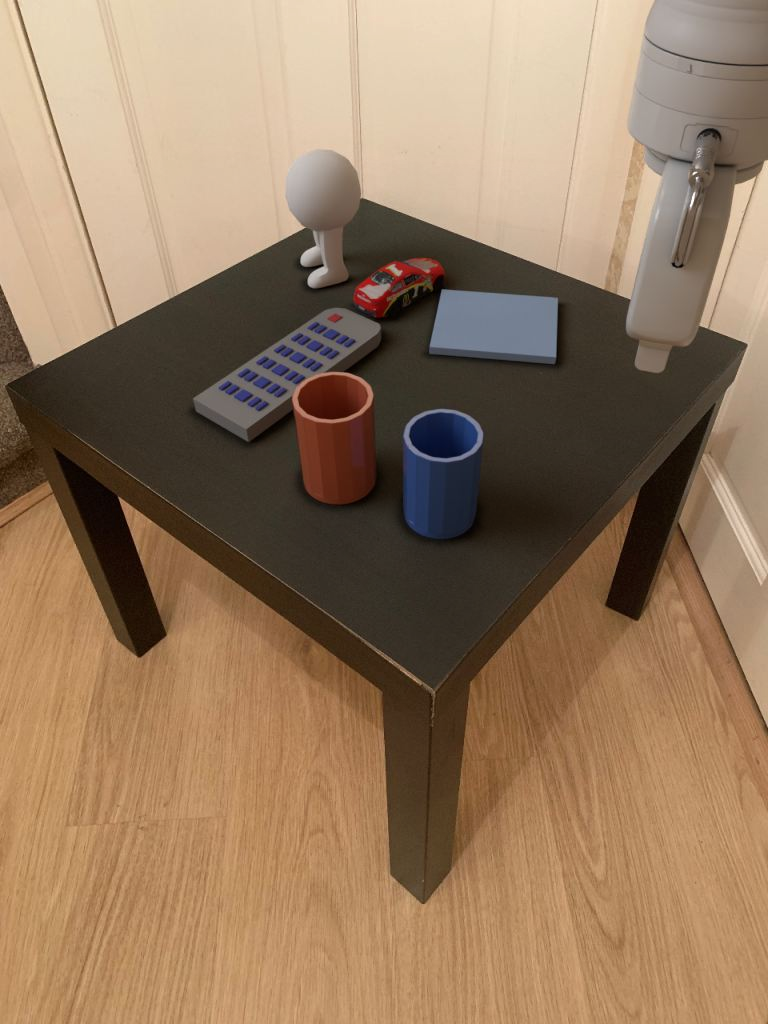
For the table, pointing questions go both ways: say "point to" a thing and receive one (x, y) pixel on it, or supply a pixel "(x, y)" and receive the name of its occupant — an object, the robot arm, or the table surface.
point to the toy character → (323, 209)
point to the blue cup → (441, 472)
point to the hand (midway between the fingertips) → (659, 323)
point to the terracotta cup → (336, 436)
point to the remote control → (287, 371)
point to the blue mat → (496, 326)
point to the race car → (398, 286)
